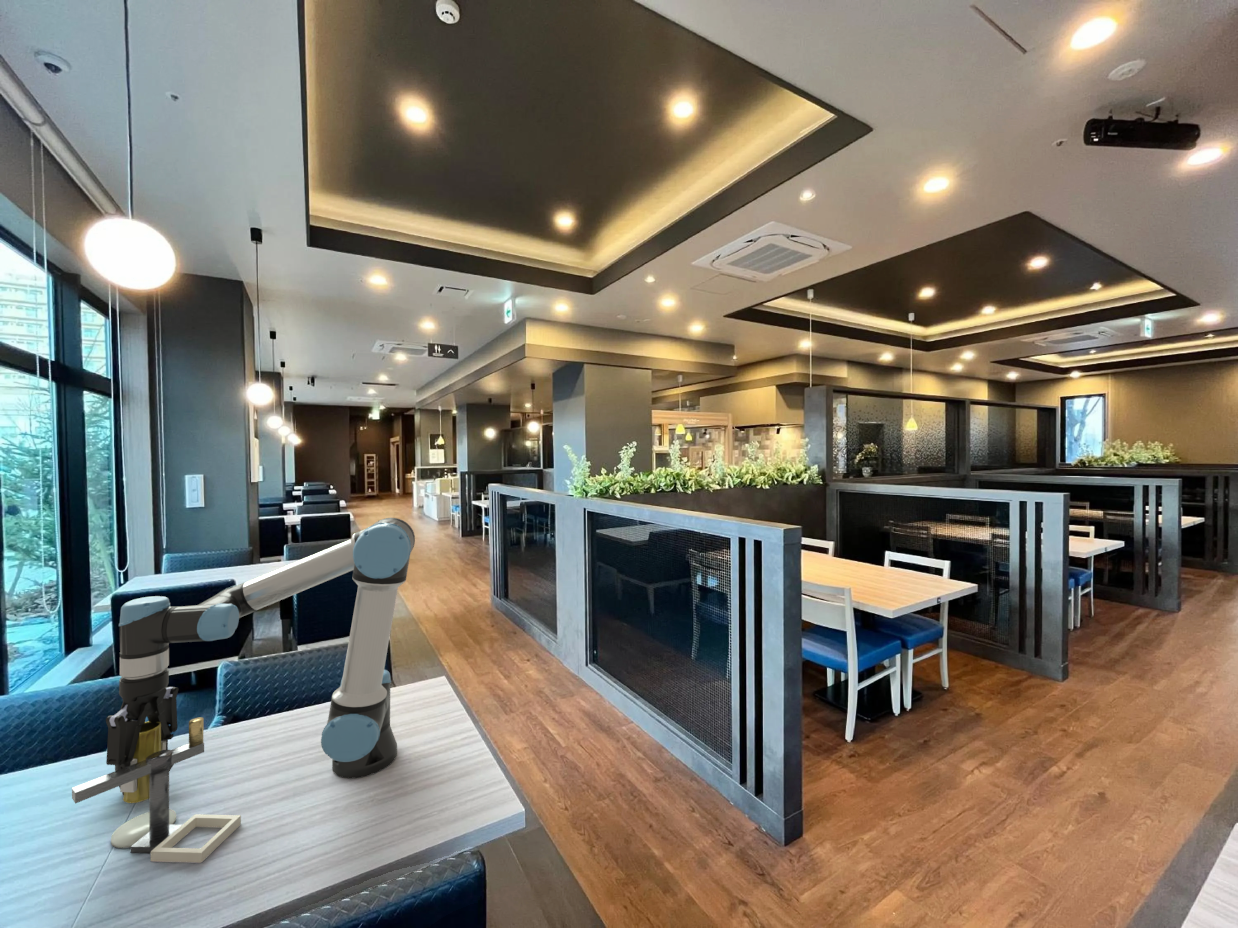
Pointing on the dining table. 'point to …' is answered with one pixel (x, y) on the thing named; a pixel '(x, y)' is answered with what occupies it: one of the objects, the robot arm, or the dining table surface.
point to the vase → (145, 747)
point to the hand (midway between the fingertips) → (143, 780)
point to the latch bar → (144, 765)
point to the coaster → (135, 830)
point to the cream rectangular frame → (195, 855)
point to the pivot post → (156, 814)
